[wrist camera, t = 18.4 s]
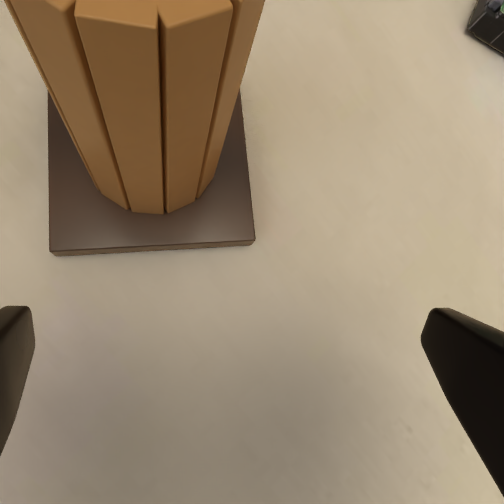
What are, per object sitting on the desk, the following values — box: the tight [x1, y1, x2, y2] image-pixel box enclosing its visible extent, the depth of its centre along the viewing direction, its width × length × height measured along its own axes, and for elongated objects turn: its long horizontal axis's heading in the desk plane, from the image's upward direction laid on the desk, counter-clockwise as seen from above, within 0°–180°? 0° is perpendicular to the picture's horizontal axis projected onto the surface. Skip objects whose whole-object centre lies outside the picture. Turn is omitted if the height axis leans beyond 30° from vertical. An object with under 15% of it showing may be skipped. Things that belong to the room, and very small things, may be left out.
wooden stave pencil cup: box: [4, 0, 265, 214], centre depth 15 cm, size 7×7×13 cm
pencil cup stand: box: [48, 89, 255, 256], centre depth 19 cm, size 10×10×6 cm
